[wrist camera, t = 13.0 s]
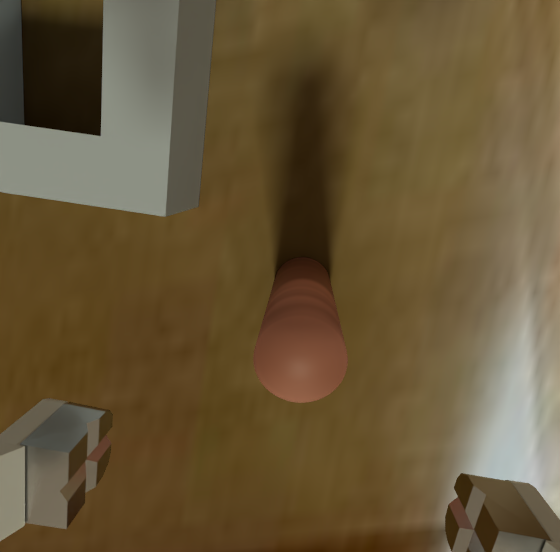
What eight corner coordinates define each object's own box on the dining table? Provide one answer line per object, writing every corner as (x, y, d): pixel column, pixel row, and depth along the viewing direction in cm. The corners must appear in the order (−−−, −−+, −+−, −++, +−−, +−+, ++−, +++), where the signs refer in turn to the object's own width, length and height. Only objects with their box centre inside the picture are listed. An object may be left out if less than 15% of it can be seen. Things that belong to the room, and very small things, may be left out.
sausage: (278, 253, 21) (259, 309, 12) (334, 261, 21) (355, 324, 12) (271, 306, 22) (248, 394, 13) (325, 314, 22) (338, 408, 13)
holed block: (-40, -98, 18) (-170, -201, 13) (221, -64, 17) (189, -156, 13) (-24, 173, 21) (-124, 173, 16) (198, 206, 20) (165, 216, 16)
